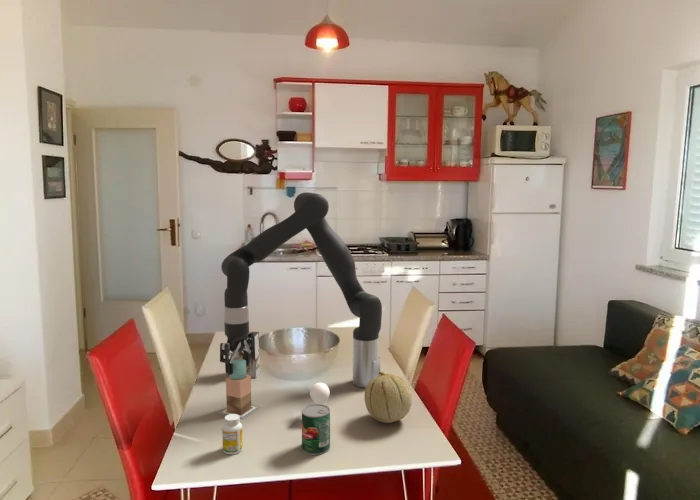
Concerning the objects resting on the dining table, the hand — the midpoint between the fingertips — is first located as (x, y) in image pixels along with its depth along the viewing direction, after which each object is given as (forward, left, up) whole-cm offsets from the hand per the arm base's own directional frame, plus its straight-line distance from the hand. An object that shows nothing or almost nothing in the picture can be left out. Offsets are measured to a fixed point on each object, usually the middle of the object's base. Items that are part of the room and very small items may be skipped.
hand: (238, 369), depth 165 cm
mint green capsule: (0, 0, -3) cm, 3 cm away
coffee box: (+17, -27, -14) cm, 35 cm away
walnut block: (0, 0, -14) cm, 14 cm away
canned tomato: (-33, +9, -14) cm, 37 cm away
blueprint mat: (0, 0, -14) cm, 14 cm away
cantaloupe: (-45, -15, -14) cm, 50 cm away
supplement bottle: (-13, +20, -14) cm, 28 cm away
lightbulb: (-25, -8, -14) cm, 30 cm away
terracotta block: (0, 0, -8) cm, 8 cm away
